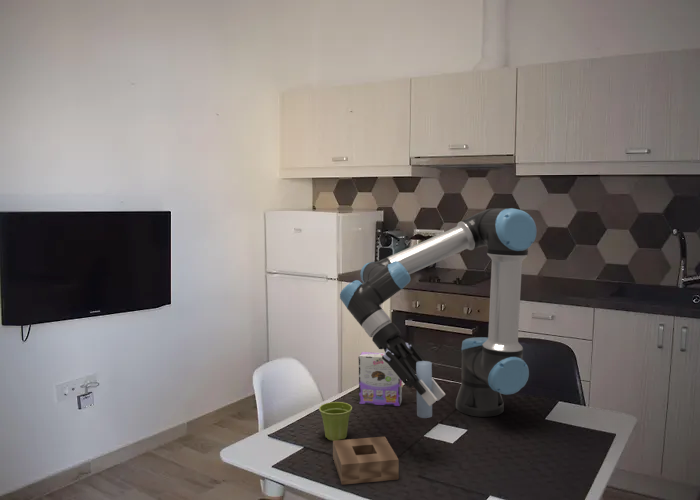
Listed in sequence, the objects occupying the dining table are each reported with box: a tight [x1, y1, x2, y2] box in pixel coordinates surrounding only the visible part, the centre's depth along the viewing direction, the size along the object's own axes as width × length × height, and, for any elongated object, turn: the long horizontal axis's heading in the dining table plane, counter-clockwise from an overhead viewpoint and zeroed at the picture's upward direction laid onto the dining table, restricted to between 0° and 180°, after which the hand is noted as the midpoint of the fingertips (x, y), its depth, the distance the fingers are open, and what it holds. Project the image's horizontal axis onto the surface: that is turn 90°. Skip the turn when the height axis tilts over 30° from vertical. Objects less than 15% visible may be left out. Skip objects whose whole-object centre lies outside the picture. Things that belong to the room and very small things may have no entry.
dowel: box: [415, 360, 433, 419], centre depth 154 cm, size 4×4×14 cm
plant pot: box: [318, 401, 353, 442], centre depth 168 cm, size 9×9×9 cm
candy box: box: [357, 351, 403, 407], centre depth 196 cm, size 14×6×16 cm, turn 77°
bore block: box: [332, 436, 400, 486], centre depth 148 cm, size 14×14×5 cm
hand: (437, 400), depth 152 cm, fingers closed on dowel, 4 cm apart
